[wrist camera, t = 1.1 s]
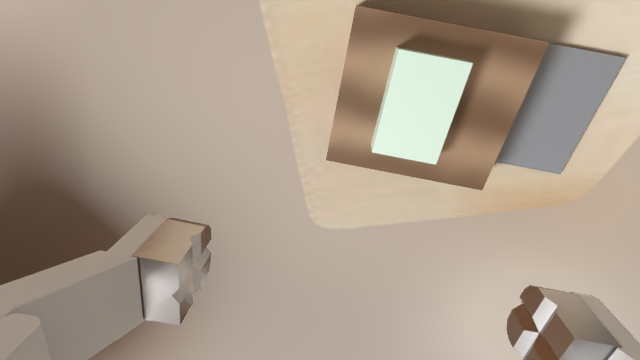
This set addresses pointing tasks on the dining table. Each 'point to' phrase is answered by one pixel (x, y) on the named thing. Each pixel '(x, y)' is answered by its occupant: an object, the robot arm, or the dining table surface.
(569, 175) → the dining table surface
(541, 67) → the mat
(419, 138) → the mint green block
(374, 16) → the board
